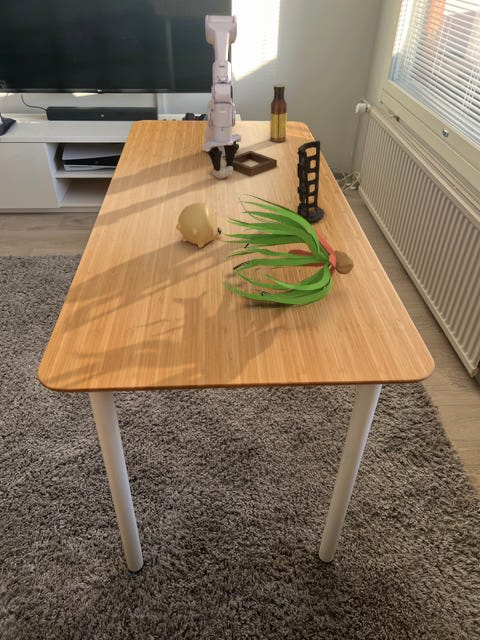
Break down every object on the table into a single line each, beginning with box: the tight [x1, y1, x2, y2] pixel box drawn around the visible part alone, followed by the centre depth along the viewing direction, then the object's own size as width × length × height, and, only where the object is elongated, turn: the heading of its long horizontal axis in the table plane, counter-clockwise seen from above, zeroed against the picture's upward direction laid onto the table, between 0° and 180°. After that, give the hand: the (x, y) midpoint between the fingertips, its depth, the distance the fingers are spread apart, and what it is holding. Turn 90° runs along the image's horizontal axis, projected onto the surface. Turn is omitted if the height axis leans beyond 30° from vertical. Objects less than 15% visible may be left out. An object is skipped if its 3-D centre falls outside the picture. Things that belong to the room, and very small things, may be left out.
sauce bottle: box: [269, 83, 288, 143], centre depth 194 cm, size 7×6×20 cm
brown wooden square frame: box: [227, 150, 278, 177], centre depth 176 cm, size 13×13×2 cm
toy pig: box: [175, 202, 222, 249], centre depth 131 cm, size 10×12×11 cm
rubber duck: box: [212, 156, 234, 180], centre depth 166 cm, size 5×7×8 cm
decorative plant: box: [216, 193, 355, 310], centre depth 108 cm, size 26×25×30 cm
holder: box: [296, 140, 325, 225], centre depth 141 cm, size 11×8×20 cm
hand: (222, 168), depth 167 cm, fingers closed on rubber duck, 5 cm apart
